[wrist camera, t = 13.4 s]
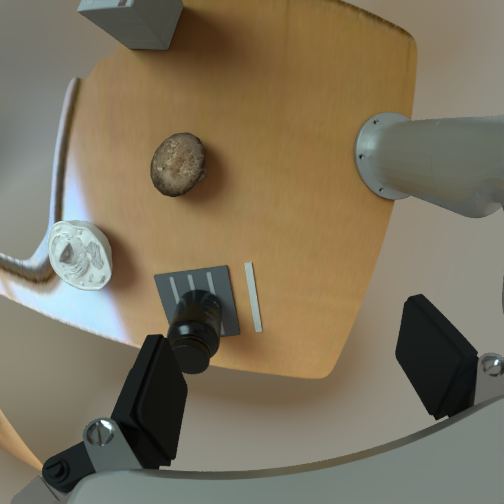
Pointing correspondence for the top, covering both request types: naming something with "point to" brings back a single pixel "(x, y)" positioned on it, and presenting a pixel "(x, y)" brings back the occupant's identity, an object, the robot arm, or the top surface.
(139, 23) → the skincare box
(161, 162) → the mushroom
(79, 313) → the top surface
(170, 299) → the mat
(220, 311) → the supplement bottle
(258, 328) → the strip
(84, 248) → the cell model
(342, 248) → the top surface
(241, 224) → the top surface
